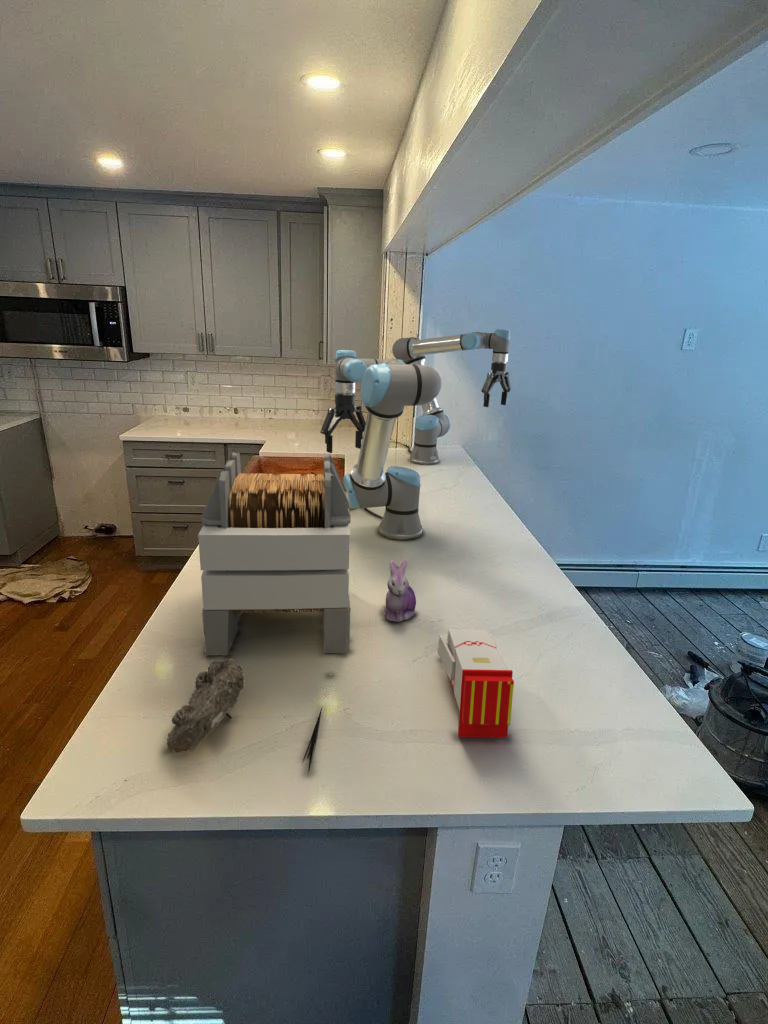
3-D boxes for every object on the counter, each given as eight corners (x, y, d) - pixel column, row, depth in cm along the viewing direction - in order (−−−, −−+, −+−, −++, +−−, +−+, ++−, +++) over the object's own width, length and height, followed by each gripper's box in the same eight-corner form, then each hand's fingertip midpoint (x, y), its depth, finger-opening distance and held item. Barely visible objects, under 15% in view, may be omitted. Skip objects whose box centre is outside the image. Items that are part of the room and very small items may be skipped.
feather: (331, 679, 122) (336, 673, 122) (307, 777, 96) (313, 769, 95) (324, 675, 122) (329, 669, 121) (298, 772, 95) (304, 764, 95)
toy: (488, 613, 130) (523, 677, 101) (484, 667, 133) (517, 744, 104) (435, 612, 130) (455, 676, 101) (432, 666, 133) (451, 743, 103)
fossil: (192, 660, 117) (244, 628, 112) (224, 691, 120) (276, 661, 115) (142, 746, 98) (202, 712, 93) (182, 779, 101) (242, 748, 96)
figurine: (392, 627, 141) (395, 572, 136) (374, 608, 149) (376, 556, 144) (425, 619, 145) (429, 566, 140) (405, 601, 154) (408, 550, 149)
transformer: (226, 586, 157) (217, 442, 143) (344, 585, 161) (346, 445, 147) (202, 658, 125) (189, 482, 112) (350, 654, 129) (354, 483, 115)
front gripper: (322, 397, 198) (322, 456, 205) (377, 393, 213) (375, 448, 221) (310, 394, 203) (311, 452, 210) (365, 390, 219) (363, 444, 226)
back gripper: (509, 361, 288) (504, 402, 295) (476, 362, 272) (472, 406, 280) (521, 362, 283) (516, 405, 290) (488, 363, 267) (484, 408, 274)
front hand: (344, 450), depth 216 cm, fingers open, 13 cm apart
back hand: (494, 405), depth 285 cm, fingers open, 13 cm apart
